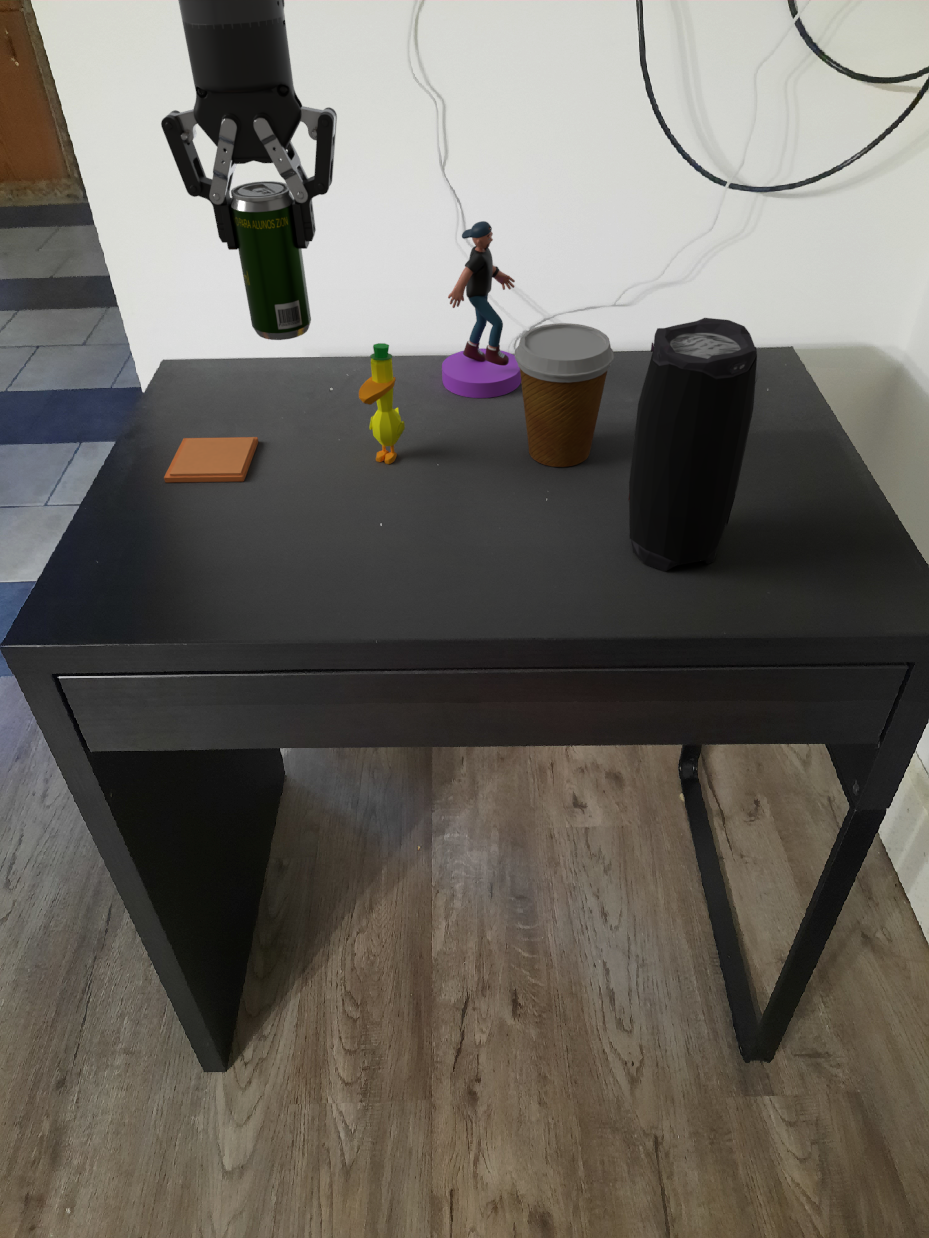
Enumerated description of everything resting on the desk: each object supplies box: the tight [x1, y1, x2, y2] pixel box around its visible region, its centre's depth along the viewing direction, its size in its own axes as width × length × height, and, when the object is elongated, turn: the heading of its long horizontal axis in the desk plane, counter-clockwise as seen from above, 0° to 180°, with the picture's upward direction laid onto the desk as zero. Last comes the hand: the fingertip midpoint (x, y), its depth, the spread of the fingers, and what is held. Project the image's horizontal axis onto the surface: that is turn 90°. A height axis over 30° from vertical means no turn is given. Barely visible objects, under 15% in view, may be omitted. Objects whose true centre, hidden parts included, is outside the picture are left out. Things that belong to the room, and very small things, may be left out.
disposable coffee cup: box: [514, 322, 615, 468], centre depth 90 cm, size 10×10×12 cm
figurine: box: [441, 220, 521, 399], centre depth 101 cm, size 9×9×18 cm
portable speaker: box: [627, 317, 758, 572], centre depth 74 cm, size 9×9×20 cm
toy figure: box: [358, 342, 406, 465], centre depth 89 cm, size 7×4×12 cm, turn 156°
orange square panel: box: [163, 436, 259, 483], centre depth 93 cm, size 8×8×1 cm
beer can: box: [230, 180, 312, 341], centre depth 79 cm, size 5×5×12 cm
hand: (269, 245), depth 78 cm, fingers closed on beer can, 5 cm apart
